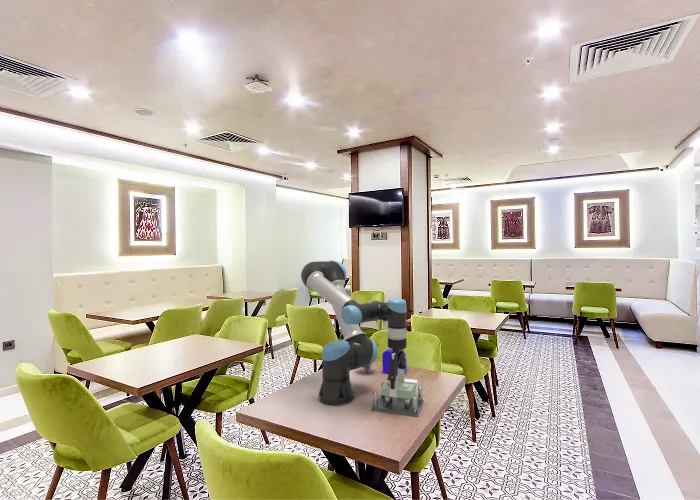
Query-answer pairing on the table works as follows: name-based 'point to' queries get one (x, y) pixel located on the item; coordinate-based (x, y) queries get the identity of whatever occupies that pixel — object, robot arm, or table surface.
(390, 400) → the chassis
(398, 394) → the board
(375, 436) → the table surface
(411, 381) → the block
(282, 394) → the table surface
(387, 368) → the bracket
